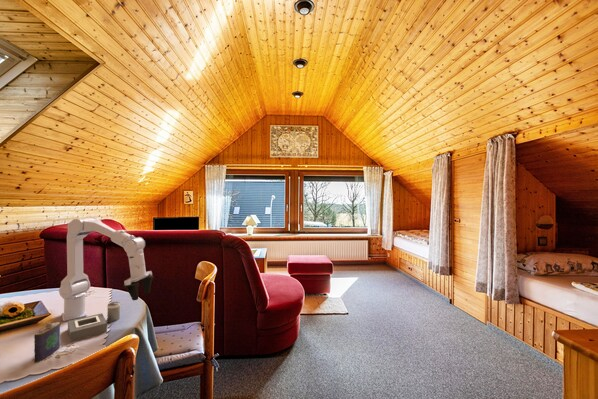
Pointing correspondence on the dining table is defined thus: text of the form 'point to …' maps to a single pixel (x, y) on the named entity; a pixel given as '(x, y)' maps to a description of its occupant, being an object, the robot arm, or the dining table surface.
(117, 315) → the lens
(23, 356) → the dining table surface
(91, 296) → the dining table surface
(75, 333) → the grey frame block
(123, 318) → the dining table surface
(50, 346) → the flask
